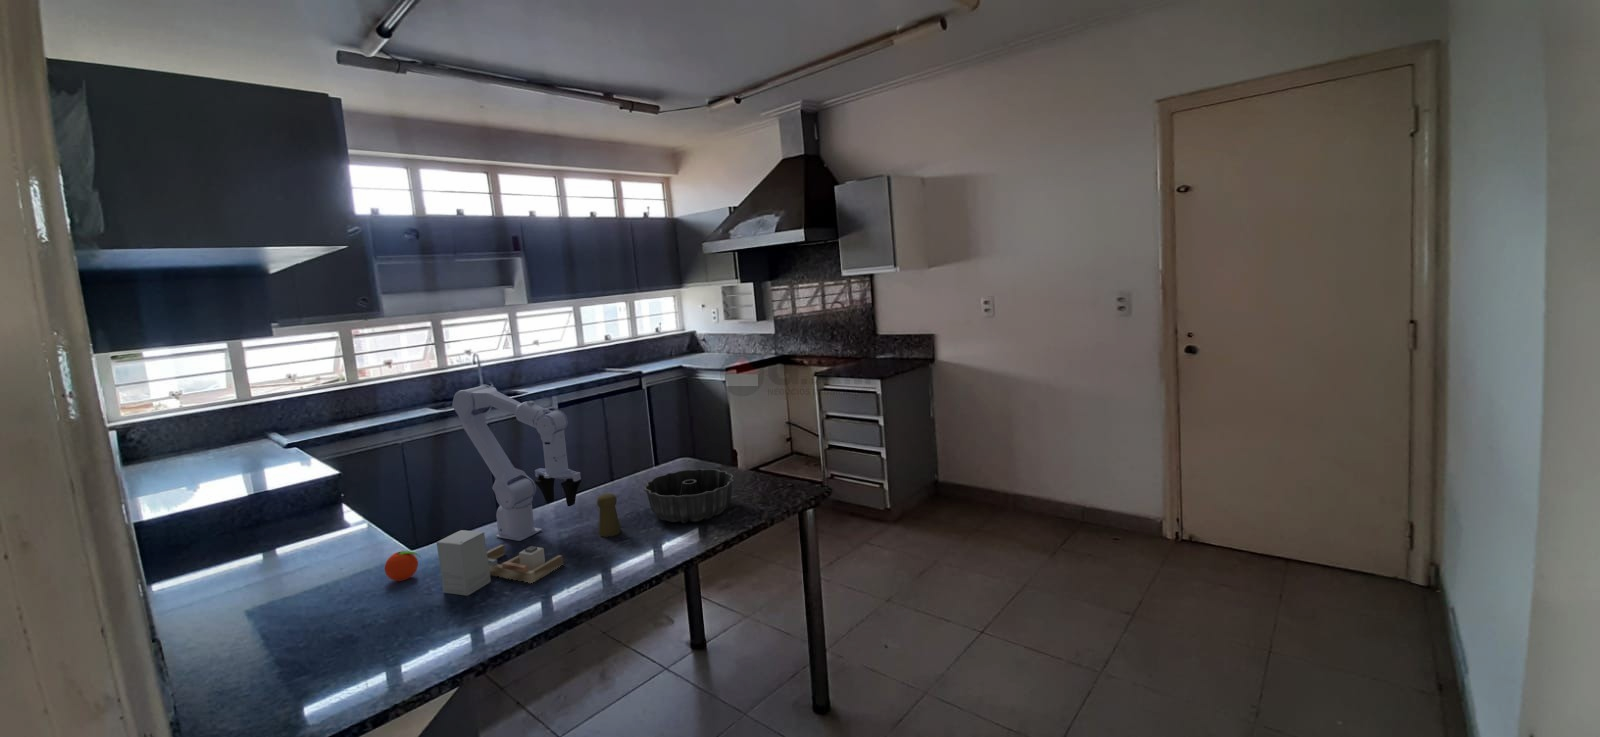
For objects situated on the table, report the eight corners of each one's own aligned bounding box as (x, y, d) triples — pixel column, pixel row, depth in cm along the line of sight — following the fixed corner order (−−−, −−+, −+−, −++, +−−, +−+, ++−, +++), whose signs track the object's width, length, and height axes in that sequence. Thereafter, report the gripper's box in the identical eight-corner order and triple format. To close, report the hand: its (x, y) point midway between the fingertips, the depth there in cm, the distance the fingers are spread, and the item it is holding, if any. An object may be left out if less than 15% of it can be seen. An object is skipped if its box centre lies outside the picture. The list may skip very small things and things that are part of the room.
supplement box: (492, 581, 154) (485, 531, 152) (467, 596, 147) (460, 544, 145) (468, 578, 156) (461, 528, 154) (442, 593, 149) (435, 541, 148)
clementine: (427, 570, 162) (423, 543, 161) (420, 582, 155) (416, 554, 154) (391, 575, 160) (387, 548, 159) (382, 588, 153) (378, 560, 152)
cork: (617, 536, 177) (613, 498, 176) (595, 537, 178) (591, 499, 176) (623, 527, 183) (620, 490, 182) (602, 528, 184) (599, 491, 182)
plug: (521, 571, 159) (518, 550, 158) (533, 564, 162) (531, 543, 161) (533, 574, 157) (530, 552, 156) (545, 567, 161) (543, 545, 160)
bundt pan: (643, 505, 202) (640, 474, 200) (726, 492, 209) (724, 463, 208) (650, 536, 177) (647, 501, 175) (744, 521, 184) (742, 488, 183)
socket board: (468, 570, 160) (466, 556, 160) (502, 553, 170) (500, 540, 169) (531, 583, 152) (529, 568, 151) (563, 565, 161) (561, 551, 161)
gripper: (524, 457, 174) (529, 505, 176) (565, 461, 168) (570, 511, 170) (544, 450, 180) (549, 497, 182) (584, 454, 175) (589, 502, 177)
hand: (560, 503), depth 177 cm, fingers open, 7 cm apart
